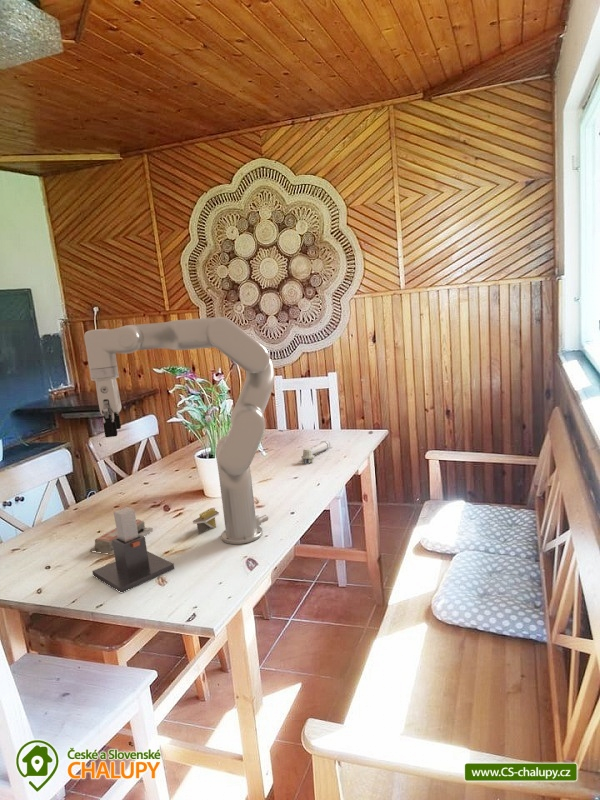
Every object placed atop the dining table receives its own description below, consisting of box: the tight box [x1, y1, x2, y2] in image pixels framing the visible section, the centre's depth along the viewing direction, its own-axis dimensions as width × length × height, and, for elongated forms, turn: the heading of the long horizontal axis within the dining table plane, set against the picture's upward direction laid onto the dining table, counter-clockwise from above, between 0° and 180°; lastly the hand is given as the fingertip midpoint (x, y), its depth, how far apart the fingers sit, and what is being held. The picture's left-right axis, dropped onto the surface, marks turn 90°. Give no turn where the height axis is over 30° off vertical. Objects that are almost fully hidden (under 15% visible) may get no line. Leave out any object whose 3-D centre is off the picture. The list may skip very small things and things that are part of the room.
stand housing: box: [92, 534, 175, 593], centre depth 158 cm, size 16×16×10 cm
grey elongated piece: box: [301, 440, 331, 464], centre depth 255 cm, size 5×7×25 cm
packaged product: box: [89, 519, 154, 555], centre depth 181 cm, size 18×5×10 cm
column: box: [113, 506, 139, 544], centre depth 157 cm, size 4×4×16 cm
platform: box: [192, 507, 220, 536], centre depth 183 cm, size 12×18×7 cm, turn 148°
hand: (113, 432), depth 164 cm, fingers open, 9 cm apart
